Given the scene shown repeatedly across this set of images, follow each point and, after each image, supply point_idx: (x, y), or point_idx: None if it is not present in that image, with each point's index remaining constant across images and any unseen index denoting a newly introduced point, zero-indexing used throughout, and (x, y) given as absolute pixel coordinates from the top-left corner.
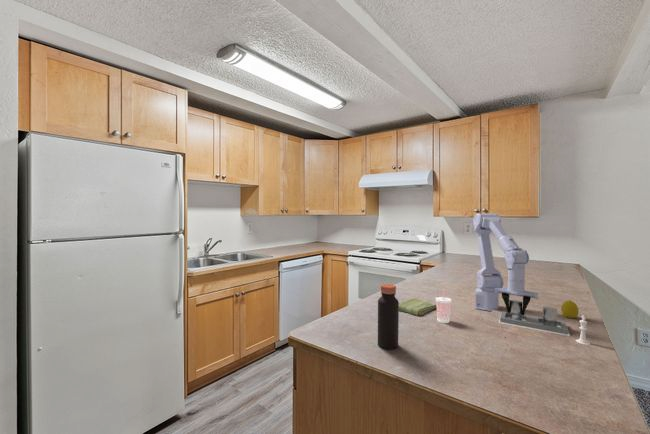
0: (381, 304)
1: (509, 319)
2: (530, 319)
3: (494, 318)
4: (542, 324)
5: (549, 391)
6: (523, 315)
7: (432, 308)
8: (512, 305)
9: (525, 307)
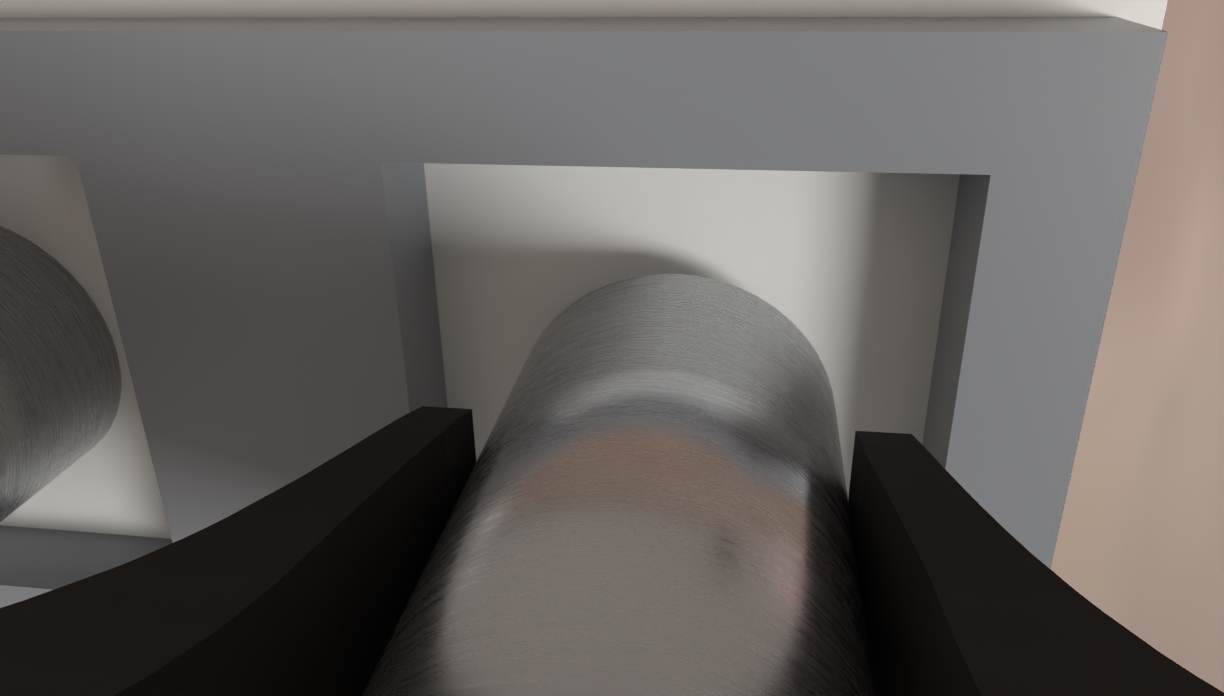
0: None
1: (846, 63)
2: (309, 418)
3: (1180, 454)
4: None
5: None
6: (430, 409)
7: None
8: (753, 579)
9: (216, 530)
